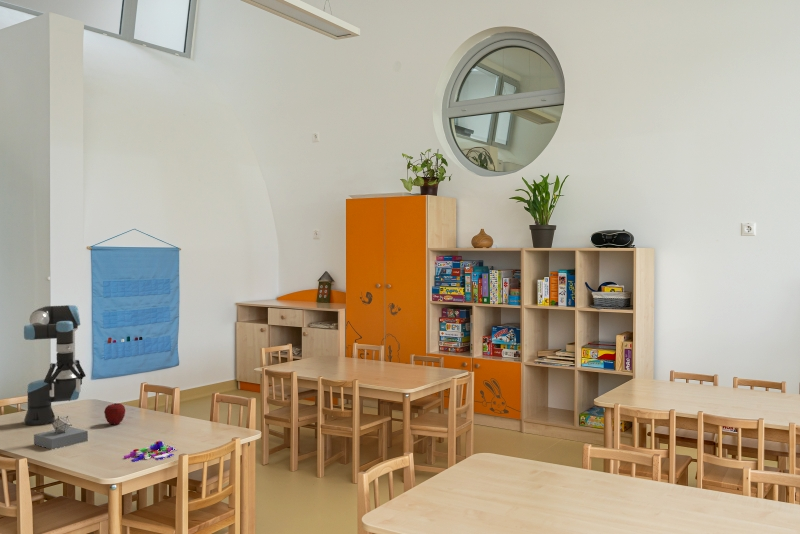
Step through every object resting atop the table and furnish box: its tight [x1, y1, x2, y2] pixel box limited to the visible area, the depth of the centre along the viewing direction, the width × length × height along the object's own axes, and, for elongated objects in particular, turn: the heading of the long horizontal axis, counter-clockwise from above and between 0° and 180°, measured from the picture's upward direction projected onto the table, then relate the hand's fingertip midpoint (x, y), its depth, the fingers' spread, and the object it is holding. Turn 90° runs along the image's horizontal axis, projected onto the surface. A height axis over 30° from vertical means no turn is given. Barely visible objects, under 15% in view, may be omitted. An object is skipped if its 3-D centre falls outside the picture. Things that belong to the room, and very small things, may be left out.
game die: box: [50, 415, 73, 433], centre depth 322 cm, size 9×8×10 cm
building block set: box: [123, 440, 175, 462], centre depth 302 cm, size 25×20×4 cm
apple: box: [104, 402, 126, 425], centre depth 360 cm, size 11×11×12 cm
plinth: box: [33, 426, 89, 450], centre depth 322 cm, size 16×18×5 cm
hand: (65, 394), depth 329 cm, fingers open, 13 cm apart
